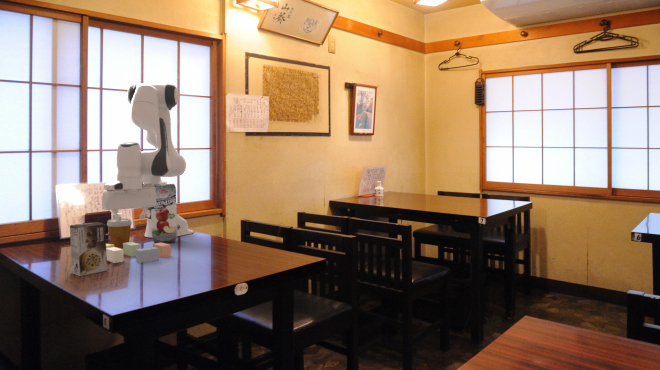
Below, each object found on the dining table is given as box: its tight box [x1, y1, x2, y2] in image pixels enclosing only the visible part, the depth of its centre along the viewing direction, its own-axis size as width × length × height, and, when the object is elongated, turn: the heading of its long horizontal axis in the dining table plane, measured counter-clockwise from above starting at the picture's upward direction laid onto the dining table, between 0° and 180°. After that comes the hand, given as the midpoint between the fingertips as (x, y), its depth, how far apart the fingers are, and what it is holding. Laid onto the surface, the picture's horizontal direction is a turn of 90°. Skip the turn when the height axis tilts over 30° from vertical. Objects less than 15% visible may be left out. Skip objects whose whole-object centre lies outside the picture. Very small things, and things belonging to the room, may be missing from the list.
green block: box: [123, 241, 141, 258], centre depth 182 cm, size 4×7×4 cm, turn 49°
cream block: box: [106, 247, 125, 264], centre depth 172 cm, size 4×7×4 cm, turn 48°
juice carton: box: [151, 180, 178, 244], centre depth 207 cm, size 9×10×27 cm
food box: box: [69, 221, 108, 277], centre depth 155 cm, size 9×6×16 cm
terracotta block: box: [152, 243, 172, 258], centre depth 181 cm, size 4×7×4 cm, turn 49°
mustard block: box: [106, 243, 114, 248], centre depth 180 cm, size 4×7×4 cm, turn 68°
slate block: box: [135, 246, 160, 264], centre depth 172 cm, size 4×7×4 cm, turn 129°
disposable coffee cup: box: [106, 218, 133, 249], centre depth 193 cm, size 10×10×12 cm
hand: (130, 220), depth 181 cm, fingers open, 8 cm apart
